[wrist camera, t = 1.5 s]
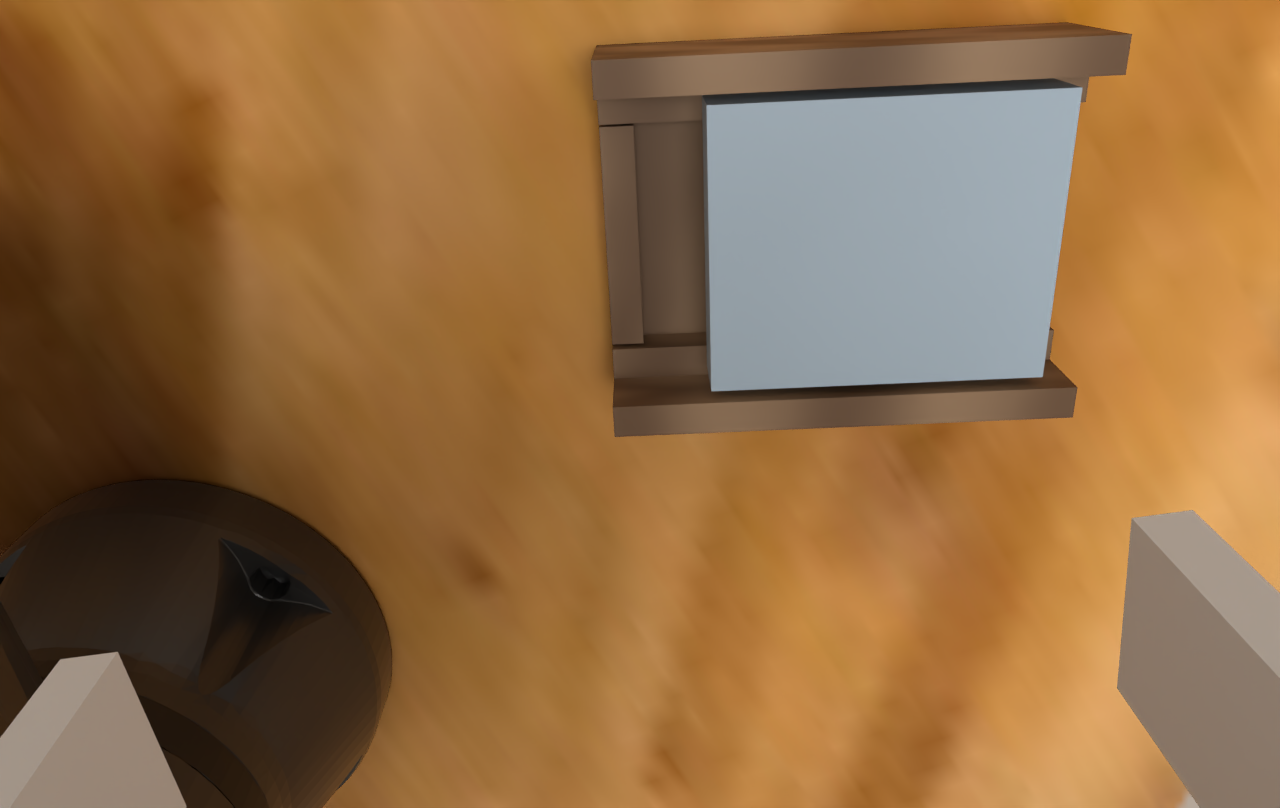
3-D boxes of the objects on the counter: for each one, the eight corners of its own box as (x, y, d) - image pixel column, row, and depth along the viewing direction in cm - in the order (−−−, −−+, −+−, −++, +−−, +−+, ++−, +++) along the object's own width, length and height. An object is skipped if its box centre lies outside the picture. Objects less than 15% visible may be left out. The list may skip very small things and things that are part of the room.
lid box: (617, 382, 34) (614, 436, 30) (596, 45, 30) (590, 60, 26) (1023, 364, 34) (1072, 417, 30) (1067, 22, 29) (1131, 34, 26)
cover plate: (706, 366, 32) (711, 391, 30) (701, 95, 28) (706, 105, 26) (1019, 352, 32) (1042, 376, 30) (1053, 77, 28) (1082, 87, 26)
